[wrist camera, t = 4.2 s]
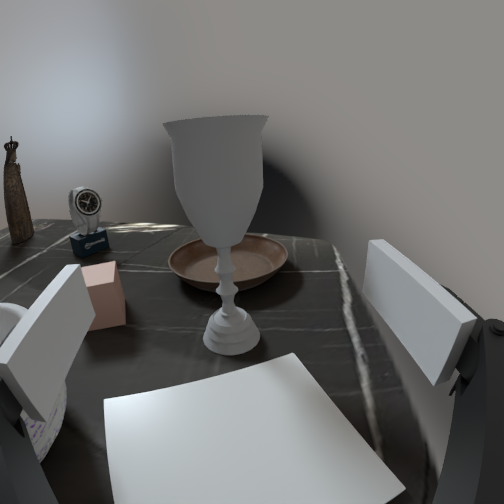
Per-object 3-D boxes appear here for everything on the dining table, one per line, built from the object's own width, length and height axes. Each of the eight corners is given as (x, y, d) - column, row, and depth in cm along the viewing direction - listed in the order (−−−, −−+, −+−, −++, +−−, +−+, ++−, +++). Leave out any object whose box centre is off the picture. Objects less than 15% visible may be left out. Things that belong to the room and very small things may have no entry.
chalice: (277, 317, 28) (275, 117, 21) (266, 367, 22) (260, 113, 15) (204, 311, 30) (185, 123, 22) (179, 355, 24) (142, 125, 16)
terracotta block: (81, 332, 26) (66, 290, 24) (86, 307, 30) (73, 269, 28) (125, 324, 28) (113, 281, 26) (125, 300, 32) (115, 260, 30)
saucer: (196, 247, 46) (195, 230, 45) (292, 251, 43) (293, 234, 42) (150, 296, 33) (145, 275, 32) (278, 310, 30) (279, 287, 29)
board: (141, 584, 6) (135, 583, 6) (107, 405, 18) (103, 399, 18) (401, 493, 11) (406, 488, 10) (292, 359, 23) (293, 352, 22)
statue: (40, 233, 57) (20, 131, 46) (15, 246, 51) (-9, 140, 41) (31, 229, 61) (12, 137, 51) (8, 241, 56) (-13, 146, 45)
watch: (88, 260, 42) (73, 193, 38) (69, 250, 46) (57, 191, 42) (115, 248, 46) (104, 184, 42) (94, 240, 51) (84, 183, 46)
